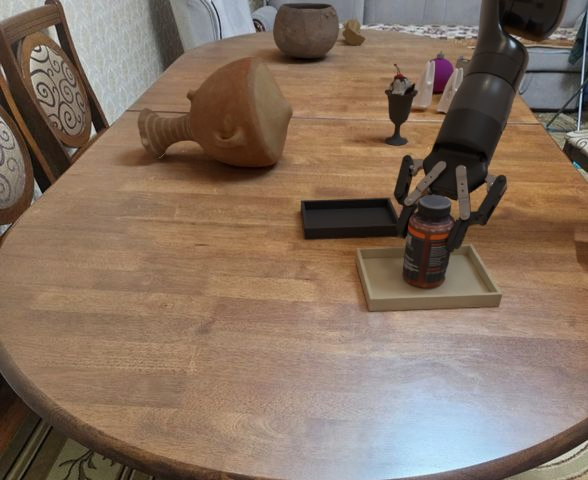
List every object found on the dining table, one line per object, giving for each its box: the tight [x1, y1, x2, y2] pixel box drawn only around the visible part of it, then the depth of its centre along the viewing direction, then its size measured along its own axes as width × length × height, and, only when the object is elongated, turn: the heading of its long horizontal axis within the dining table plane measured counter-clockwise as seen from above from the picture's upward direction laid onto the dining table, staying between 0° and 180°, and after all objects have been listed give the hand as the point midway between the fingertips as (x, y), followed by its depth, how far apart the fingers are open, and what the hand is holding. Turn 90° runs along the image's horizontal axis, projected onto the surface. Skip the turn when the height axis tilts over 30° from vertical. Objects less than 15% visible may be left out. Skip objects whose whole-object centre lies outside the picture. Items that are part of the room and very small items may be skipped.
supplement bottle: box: [402, 195, 456, 288], centre depth 72 cm, size 6×6×11 cm
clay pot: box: [272, 2, 340, 59], centre depth 173 cm, size 21×21×15 cm
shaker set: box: [411, 60, 463, 114], centre depth 130 cm, size 12×4×11 cm, turn 77°
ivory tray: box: [354, 243, 503, 312], centre depth 75 cm, size 17×13×2 cm
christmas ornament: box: [429, 49, 455, 93], centre depth 144 cm, size 8×8×10 cm
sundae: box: [384, 63, 418, 146], centre depth 113 cm, size 7×7×15 cm
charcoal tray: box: [300, 197, 399, 240], centre depth 88 cm, size 15×10×2 cm, turn 93°
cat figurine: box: [342, 18, 366, 46], centre depth 193 cm, size 8×7×12 cm
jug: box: [137, 56, 294, 168], centre depth 104 cm, size 20×19×30 cm
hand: (424, 242), depth 70 cm, fingers closed on supplement bottle, 6 cm apart
